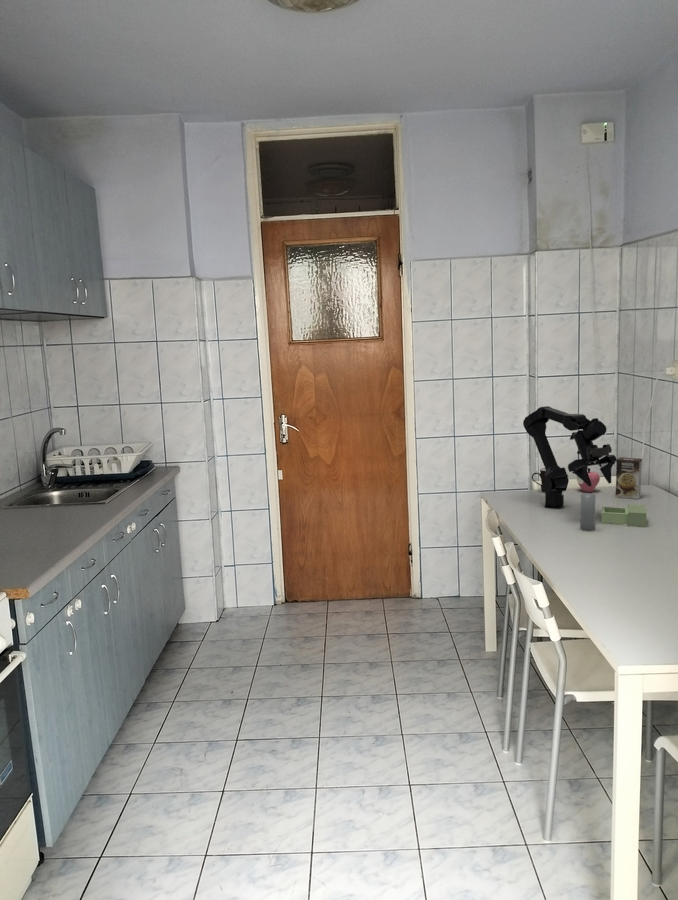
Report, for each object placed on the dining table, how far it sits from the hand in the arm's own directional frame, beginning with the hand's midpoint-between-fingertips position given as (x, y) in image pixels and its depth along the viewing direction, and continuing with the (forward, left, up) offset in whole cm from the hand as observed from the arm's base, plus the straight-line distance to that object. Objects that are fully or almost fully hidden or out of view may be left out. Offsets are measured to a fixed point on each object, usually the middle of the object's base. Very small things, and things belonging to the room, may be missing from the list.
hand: (600, 484), depth 268 cm
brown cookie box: (+10, +40, -14) cm, 44 cm away
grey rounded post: (-4, -12, -14) cm, 18 cm away
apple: (-6, +47, -14) cm, 50 cm away
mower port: (+8, +1, -14) cm, 16 cm away
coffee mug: (-23, +43, -14) cm, 51 cm away
